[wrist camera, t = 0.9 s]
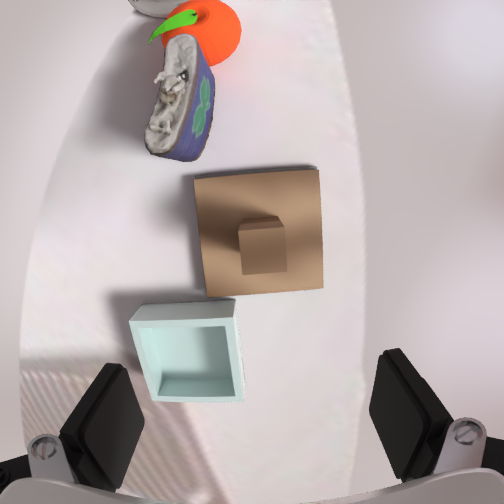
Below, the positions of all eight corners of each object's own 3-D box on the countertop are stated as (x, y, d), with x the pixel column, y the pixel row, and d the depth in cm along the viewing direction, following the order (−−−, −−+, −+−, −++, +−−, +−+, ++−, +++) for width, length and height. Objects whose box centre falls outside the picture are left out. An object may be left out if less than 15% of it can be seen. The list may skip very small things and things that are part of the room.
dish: (142, 304, 30) (128, 320, 26) (235, 299, 30) (233, 317, 26) (161, 379, 33) (152, 400, 29) (245, 378, 32) (244, 401, 29)
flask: (192, 69, 25) (161, 20, 14) (222, 72, 25) (206, 21, 14) (173, 160, 27) (129, 154, 16) (204, 164, 27) (175, 158, 17)
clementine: (170, 91, 25) (145, 67, 18) (156, 36, 24) (132, 5, 17) (251, 66, 25) (250, 34, 18) (232, 12, 23) (227, -26, 16)
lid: (195, 179, 27) (176, 180, 20) (316, 169, 26) (336, 167, 20) (208, 294, 29) (196, 326, 23) (321, 285, 29) (339, 315, 22)
